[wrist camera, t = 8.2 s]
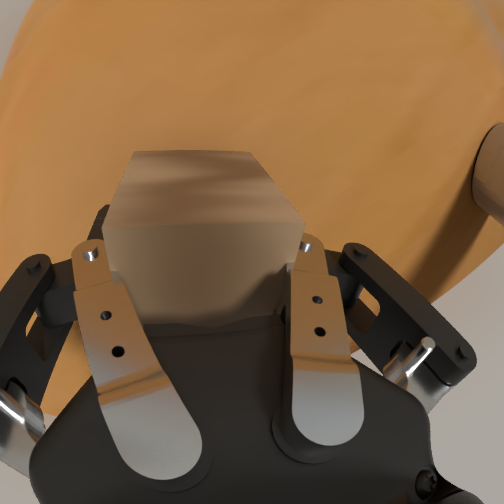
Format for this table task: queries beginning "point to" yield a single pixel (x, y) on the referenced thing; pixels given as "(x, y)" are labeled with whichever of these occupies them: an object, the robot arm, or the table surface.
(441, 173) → the table surface
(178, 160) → the walnut block
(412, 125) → the table surface
